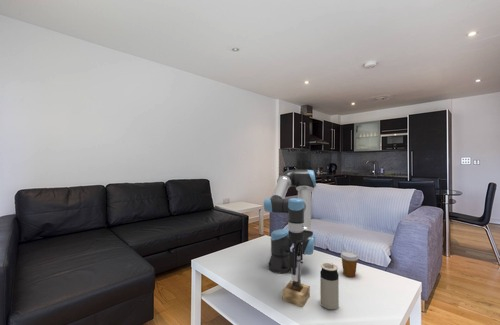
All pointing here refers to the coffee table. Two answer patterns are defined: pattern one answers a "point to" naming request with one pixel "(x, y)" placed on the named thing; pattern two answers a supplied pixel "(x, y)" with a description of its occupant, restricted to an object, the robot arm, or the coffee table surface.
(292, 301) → the square frame
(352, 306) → the coffee table surface
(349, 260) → the disposable coffee cup
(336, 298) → the travel mug
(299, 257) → the metal canister
